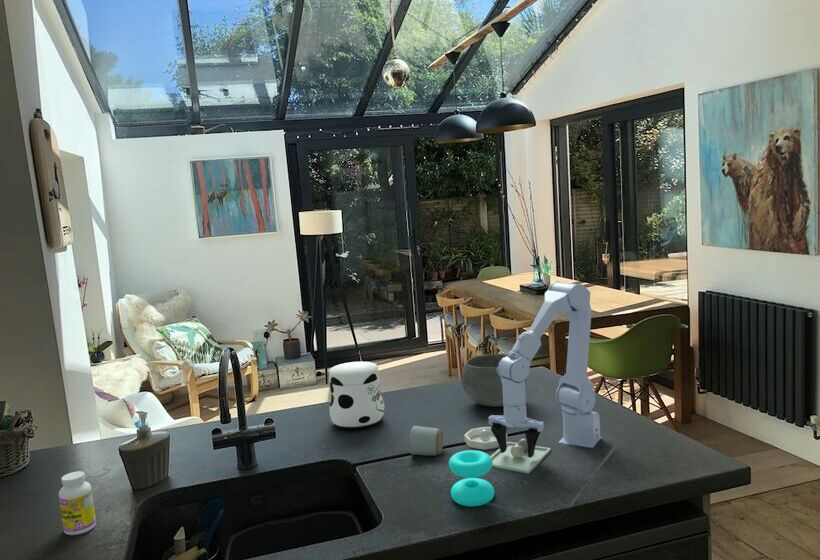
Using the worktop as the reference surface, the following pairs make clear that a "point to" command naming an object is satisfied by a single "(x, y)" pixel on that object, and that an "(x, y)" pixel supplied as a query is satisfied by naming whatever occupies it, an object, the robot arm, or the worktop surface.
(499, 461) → the parts tray
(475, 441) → the stoneware bowl
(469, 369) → the bowl
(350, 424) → the milk container
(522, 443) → the pebble slate
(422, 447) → the ceramic mug
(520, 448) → the beige round ball
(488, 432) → the pebble grey
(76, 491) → the supplement bottle
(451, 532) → the worktop surface
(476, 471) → the donuts
